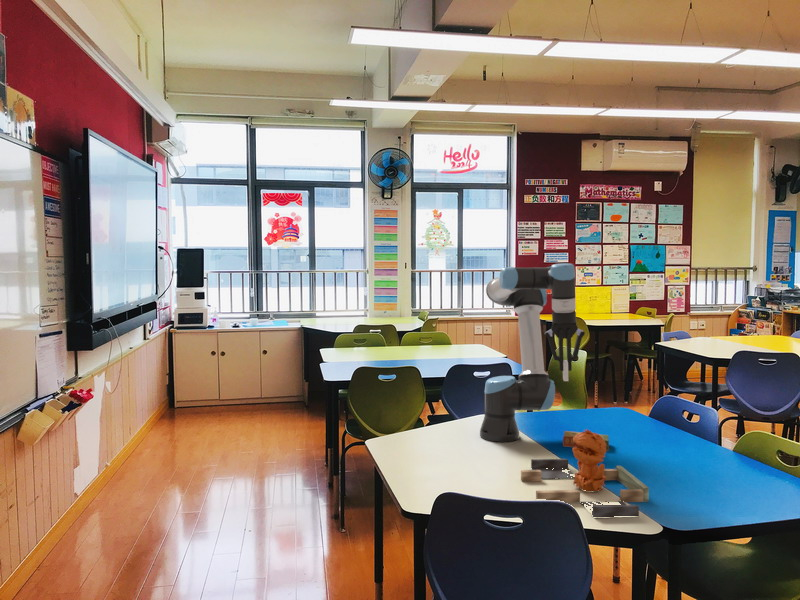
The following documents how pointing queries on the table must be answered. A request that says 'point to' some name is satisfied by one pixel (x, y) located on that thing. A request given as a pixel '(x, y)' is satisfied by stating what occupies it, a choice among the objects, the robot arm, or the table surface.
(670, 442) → the table surface
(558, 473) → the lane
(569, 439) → the carton
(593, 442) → the orange sculpted figure
